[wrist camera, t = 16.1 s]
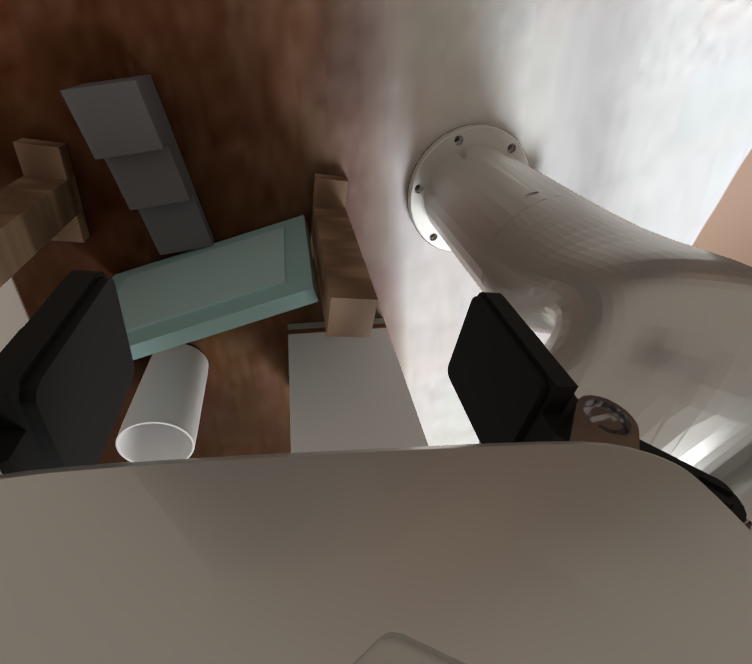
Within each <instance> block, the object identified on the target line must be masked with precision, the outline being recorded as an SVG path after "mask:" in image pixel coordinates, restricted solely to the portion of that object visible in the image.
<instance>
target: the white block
mask: <svg viewBox="0 0 752 664" xmlns="http://www.w3.org/2000/svg"><path fill="white" fill-rule="evenodd" d="M288 353H289V391H290V430H291V453H300V452H320V451H339V450H359V449H379V448H399V447H421V446H428V444H427V441H426V438H425V435H424V432H423V429H422V427H421V424H420V421H419V418H418V415H417V412H416V410H415V407H414V404H413V401H412V398H411V395H410V393H409V390H408V387H407V384H406V381H405V378H404V376H403V373H402V370H401V367H400V364H399V361H398V359H397V356H396V353H395V350H394V347H393V344H392V342H391V339H390V336H389V333H388V330H387V327H386V325H385V322H384V319H383V318H374V322H373V327H372V332H371V337H336V336H326V329H325V323H324V322H310V323H295V324H288Z"/></svg>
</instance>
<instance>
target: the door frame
mask: <svg viewBox="0 0 752 664" xmlns="http://www.w3.org/2000/svg"><path fill="white" fill-rule="evenodd" d="M13 145H14V148H15V151H16V154H17V157H18V160H19V163H20V166H21V169H22V172H23V175H24V176H22V177H21V178H19V179H17V180H16V181H14V182H12V183H10V184H9V185H7V186H5V187H4V188H2V189H0V287H1V286H2V285H3V284H4V283H5V282H6V281H8V280H9V279H10V278H11V277H12V276H13V275H14V274H15V273H16V272H17V271H18V270H19V269H20V268H21V267H22V266H24V265H25V264H26V263H27V262H28V261H29V260H30V259H31V258H32V257H33V256H34V255H35V254H36V253H37V252H38V251H40V250H41V249H42V248H43V247H44V246H45V245H46V244H47V243H48V242H49V241H50V240H51V241H65V242H80V243H84V242H85V241H86V240H87V239H88V238H89V237H90V234H89V230H88V226H87V222H86V218H85V214H84V210H83V206H82V202H81V198H80V194H79V190H78V187H77V183H76V179H75V175H74V171H73V167H72V163H71V159H70V155H69V151H68V147H67V144H66V143H61V142H53V141H44V140H36V139H28V138H21V139H19V140H16V141H14V142H13ZM347 190H348V179H347V177H344V176H335V175H327V174H319V173H315V176H314V189H313V202H312V215H311V228H310V243H311V250H312V258H315V263H316V269H317V276H318V283H319V289H320V296H321V303H322V309H323V316H324V323H325V329H326V336H336V337H371V332H372V327H373V322H374V317H375V312H376V307H377V302H378V299H377V296H376V293H375V290H374V287H373V285H372V282H371V279H370V276H369V273H368V271H367V268H366V265H365V262H364V259H363V257H362V254H361V251H360V248H359V245H358V243H357V240H356V237H355V234H354V231H353V229H352V226H351V223H350V220H349V217H348V215H347V212H346V209H345V206H346V198H347Z"/></svg>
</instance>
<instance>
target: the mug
mask: <svg viewBox="0 0 752 664" xmlns="http://www.w3.org/2000/svg"><path fill="white" fill-rule="evenodd" d="M207 374H208V361H207V358H206V357H205V355H204V354H203V353H202V352H201V351H200V350H198V349H197V348H195V347H193V346H190V345H187V344H183V345H180V346H176V347H173V348H170V349H167V350H164V351H161V352H157V353H154V354H153V355H152V357H151V359H150V361H149V363H148V365H147V367H146V370H145V372H144V374H143V377H142V379H141V382H140V384H139V386H138V389H137V391H136V393H135V396H134V398H133V400H132V402H131V405H130V407H129V409H128V412H127V414H126V416H125V419H124V421H123V423H122V426H121V428H120V431H119V434H118V436H117V438H116V448H117V450H118V452H119V453H120V455H121V456H122V457H124V458H125V459H126V460H128V461H130V462H141V461H157V460H173V459H188V458H189V457H190V456H191V455H192V453H193V451H194V447H195V442H196V438H197V432H198V426H199V421H200V415H201V409H202V403H203V397H204V392H205V386H206V380H207Z"/></svg>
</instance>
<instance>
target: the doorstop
mask: <svg viewBox="0 0 752 664" xmlns="http://www.w3.org/2000/svg"><path fill="white" fill-rule="evenodd" d="M60 92H61V94H62V96H63V98H64V100H65V102H66V104H67V106H68V108H69V109H70V111H71V113H72V115H73V117H74V119H75V121H76V123H77V125H78V127H79V129H80V131H81V133H82V135H83V137H84V139H85V141H86V142H87V144H88V146H89V148H90V150H91V152H92V154H93V156H94V158H95V160H97V159H103V158H104V159H105V161H106V163H107V165H108V167H109V169H110V171H111V173H112V175H113V177H114V179H115V181H116V183H117V185H118V187H119V189H120V191H121V193H122V195H123V197H124V199H125V201H126V203H127V205H128V207H129V209H130V210H136V209H138V211H139V213H140V215H141V217H142V219H143V221H144V223H145V225H146V227H147V229H148V231H149V234H150V236H151V238H152V240H153V242H154V244H155V246H156V248H157V250H158V252H159V254H160V255H165V254H170V253H176V252H182V251H187V250H193V249H198V248H204V247H209V246H213V245H214V238H213V235H212V233H211V230H210V228H209V225H208V222H207V220H206V217H205V215H204V212H203V209H202V207H201V204H200V202H199V199H198V196H197V194H196V191H195V189H194V186H193V183H192V181H191V178H190V176H189V173H188V171H187V168H186V165H185V163H184V160H183V158H182V155H181V152H180V150H179V147H178V145H177V142H176V139H175V137H174V134H173V132H172V129H171V126H170V124H169V121H168V119H167V116H166V113H165V111H164V108H163V106H162V103H161V100H160V98H159V95H158V93H157V90H156V87H155V85H154V82H153V80H152V77H151V74H147V75H140V76H133V77H126V78H119V79H112V80H105V81H98V82H91V83H84V84H80V85H77V86H74V87H70V88H67V89H64V90H60Z"/></svg>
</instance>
